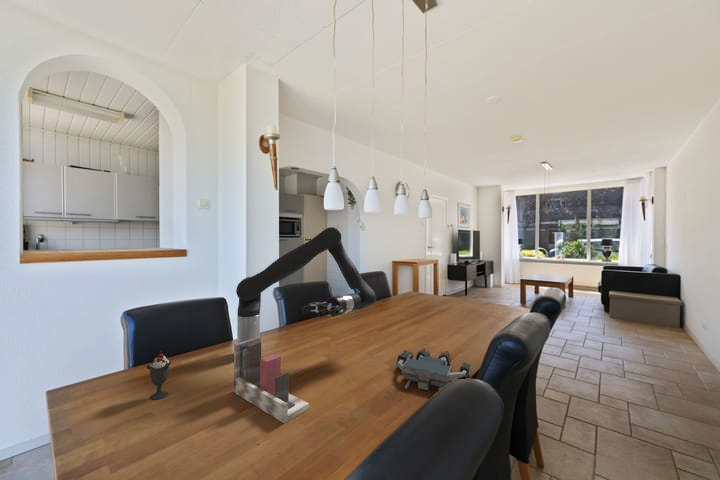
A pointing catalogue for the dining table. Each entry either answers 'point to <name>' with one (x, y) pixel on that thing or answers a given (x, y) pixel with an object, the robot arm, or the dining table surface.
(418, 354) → the toy
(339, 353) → the dining table surface
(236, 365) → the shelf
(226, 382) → the dining table surface
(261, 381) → the book
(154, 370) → the sundae
